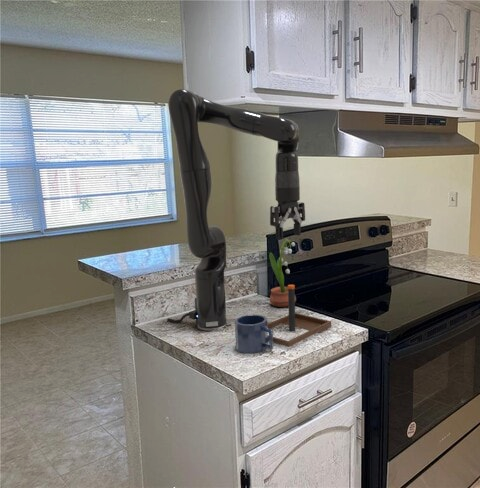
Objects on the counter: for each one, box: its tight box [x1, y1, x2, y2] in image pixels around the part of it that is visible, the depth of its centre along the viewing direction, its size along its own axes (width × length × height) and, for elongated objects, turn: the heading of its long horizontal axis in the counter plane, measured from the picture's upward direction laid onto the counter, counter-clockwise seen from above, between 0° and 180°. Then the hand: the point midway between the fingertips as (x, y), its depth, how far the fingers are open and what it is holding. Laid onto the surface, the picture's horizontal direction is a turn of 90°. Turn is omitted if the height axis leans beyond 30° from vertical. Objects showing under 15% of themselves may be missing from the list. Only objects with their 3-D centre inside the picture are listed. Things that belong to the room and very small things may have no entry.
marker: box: [287, 284, 296, 333], centre depth 155 cm, size 2×2×15 cm
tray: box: [267, 312, 332, 348], centre depth 157 cm, size 16×22×2 cm
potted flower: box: [268, 238, 297, 308], centre depth 183 cm, size 12×10×25 cm
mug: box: [234, 313, 274, 355], centre depth 142 cm, size 13×9×9 cm
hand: (288, 237), depth 155 cm, fingers open, 8 cm apart
